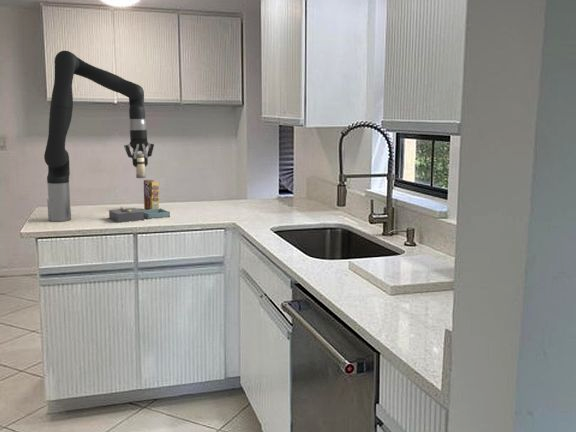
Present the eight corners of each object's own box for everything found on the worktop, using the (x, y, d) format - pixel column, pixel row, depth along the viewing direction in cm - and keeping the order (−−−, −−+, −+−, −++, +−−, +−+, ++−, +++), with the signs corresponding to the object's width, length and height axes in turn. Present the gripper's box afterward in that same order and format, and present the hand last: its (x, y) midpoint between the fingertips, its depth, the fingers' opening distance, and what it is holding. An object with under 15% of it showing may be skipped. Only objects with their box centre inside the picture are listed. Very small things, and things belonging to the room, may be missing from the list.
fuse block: (117, 222, 265) (117, 211, 264) (109, 218, 275) (109, 207, 274) (143, 220, 272) (143, 209, 271) (134, 216, 282) (134, 205, 281)
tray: (147, 219, 274) (147, 213, 274) (139, 215, 283) (138, 210, 283) (169, 217, 281) (169, 211, 280) (160, 213, 289) (160, 208, 289)
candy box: (159, 211, 296) (159, 180, 293) (151, 212, 293) (151, 181, 290) (151, 208, 302) (150, 179, 300) (143, 209, 300) (142, 179, 297)
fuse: (138, 178, 271) (136, 154, 269) (135, 177, 275) (133, 153, 273) (147, 177, 273) (145, 153, 271) (143, 176, 277) (142, 153, 275)
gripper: (125, 129, 263) (128, 168, 266) (156, 128, 271) (158, 166, 274) (120, 129, 269) (122, 166, 272) (150, 128, 277) (152, 164, 280)
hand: (140, 166), depth 273 cm, fingers closed on fuse, 4 cm apart
